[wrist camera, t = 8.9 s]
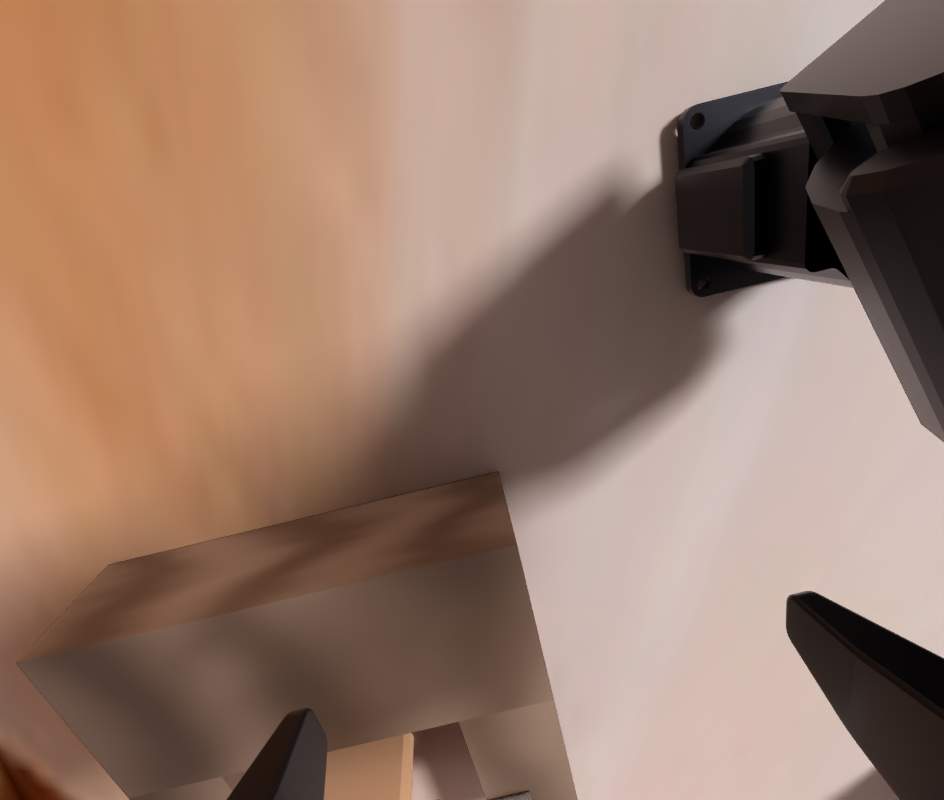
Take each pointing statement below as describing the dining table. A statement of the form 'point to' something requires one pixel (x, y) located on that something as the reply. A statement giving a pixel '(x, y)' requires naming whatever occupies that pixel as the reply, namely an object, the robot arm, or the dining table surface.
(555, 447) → the dining table surface
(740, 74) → the dining table surface
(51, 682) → the u-shaped stone cradle
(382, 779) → the wooden building block
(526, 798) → the metal rod
